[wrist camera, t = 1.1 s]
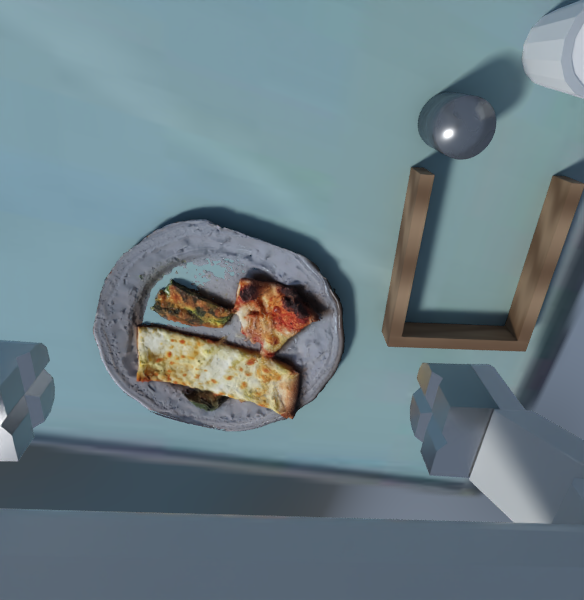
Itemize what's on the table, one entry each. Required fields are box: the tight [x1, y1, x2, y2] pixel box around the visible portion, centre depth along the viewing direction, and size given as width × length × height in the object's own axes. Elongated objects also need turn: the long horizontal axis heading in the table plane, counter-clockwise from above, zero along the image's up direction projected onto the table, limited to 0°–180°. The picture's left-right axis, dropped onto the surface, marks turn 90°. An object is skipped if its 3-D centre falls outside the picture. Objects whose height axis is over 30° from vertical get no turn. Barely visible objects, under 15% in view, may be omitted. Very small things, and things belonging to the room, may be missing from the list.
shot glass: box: [522, 0, 584, 98], centre depth 34 cm, size 7×7×7 cm
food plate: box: [93, 219, 345, 431], centre depth 47 cm, size 25×23×4 cm
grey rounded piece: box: [418, 92, 496, 159], centre depth 37 cm, size 5×5×5 cm
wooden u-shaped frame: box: [382, 167, 584, 351], centre depth 44 cm, size 17×14×3 cm
